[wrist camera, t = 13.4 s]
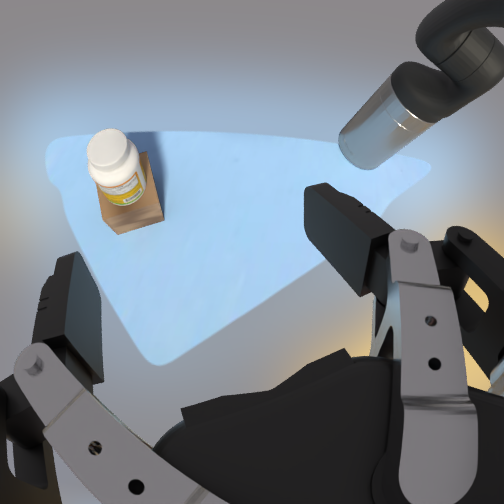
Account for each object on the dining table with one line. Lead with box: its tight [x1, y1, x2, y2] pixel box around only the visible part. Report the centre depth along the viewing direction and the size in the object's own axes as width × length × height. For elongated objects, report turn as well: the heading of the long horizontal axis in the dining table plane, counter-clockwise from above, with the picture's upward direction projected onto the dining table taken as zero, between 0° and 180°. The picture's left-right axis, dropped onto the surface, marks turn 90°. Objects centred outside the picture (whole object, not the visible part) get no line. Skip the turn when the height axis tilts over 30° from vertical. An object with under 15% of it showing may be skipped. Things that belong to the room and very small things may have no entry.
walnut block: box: [96, 151, 164, 235], centre depth 37 cm, size 7×7×8 cm
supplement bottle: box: [87, 129, 146, 206], centre depth 29 cm, size 5×5×10 cm
